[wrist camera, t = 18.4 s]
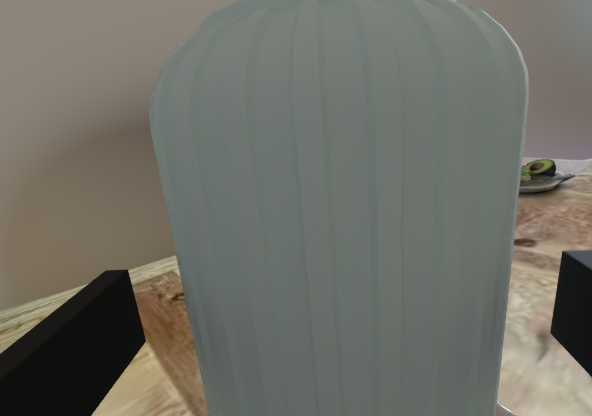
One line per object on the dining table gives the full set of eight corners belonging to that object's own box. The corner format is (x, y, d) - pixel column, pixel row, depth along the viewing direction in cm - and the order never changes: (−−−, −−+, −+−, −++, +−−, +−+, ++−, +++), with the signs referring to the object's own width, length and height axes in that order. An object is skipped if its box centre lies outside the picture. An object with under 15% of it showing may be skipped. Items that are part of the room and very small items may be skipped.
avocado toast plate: (549, 203, 62) (552, 178, 61) (451, 190, 76) (452, 168, 74) (578, 180, 74) (582, 159, 73) (489, 172, 87) (490, 154, 86)
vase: (186, 549, 17) (48, 35, 10) (315, 385, 25) (286, 53, 19) (441, 813, 10) (521, -169, 4) (496, 469, 19) (548, 5, 12)
